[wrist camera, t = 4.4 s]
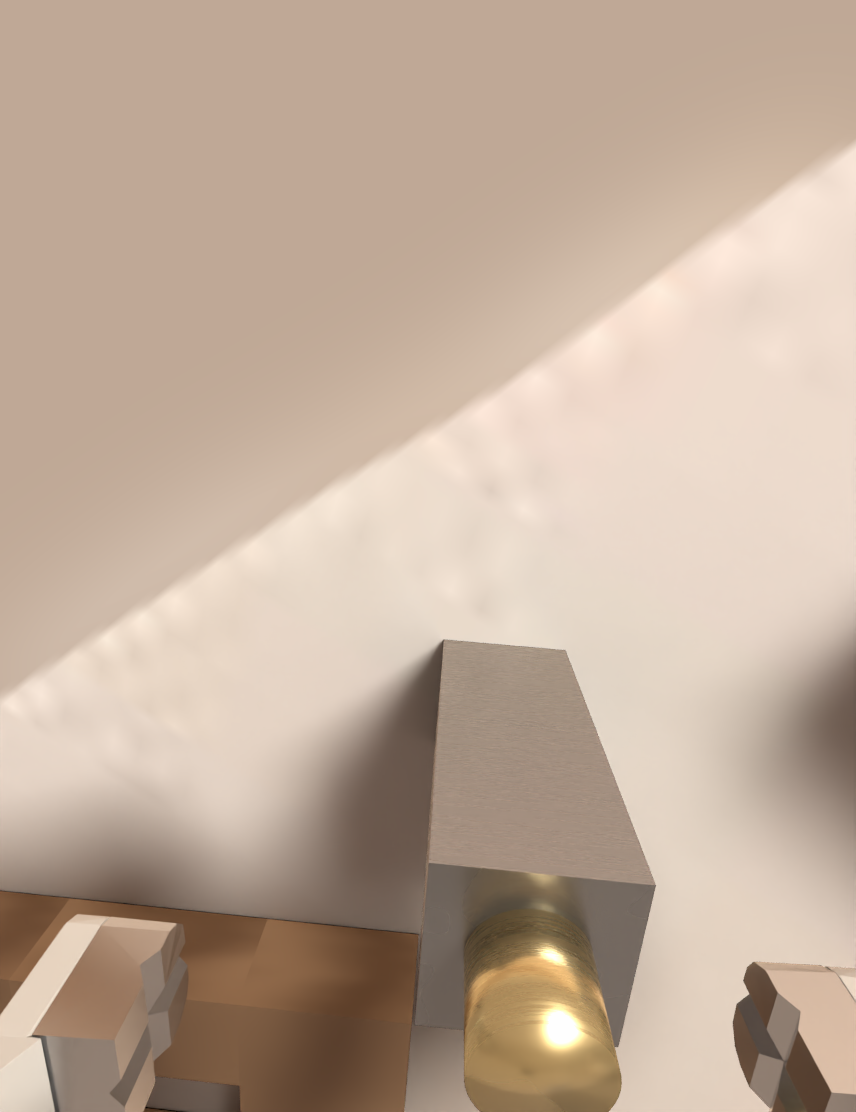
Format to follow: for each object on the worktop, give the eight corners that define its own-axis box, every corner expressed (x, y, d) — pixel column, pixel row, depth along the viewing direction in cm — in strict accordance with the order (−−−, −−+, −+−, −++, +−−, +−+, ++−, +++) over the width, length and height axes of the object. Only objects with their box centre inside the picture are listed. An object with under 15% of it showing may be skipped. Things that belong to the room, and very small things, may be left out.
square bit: (565, 650, 14) (699, 1000, 6) (549, 754, 15) (649, 1180, 7) (443, 639, 15) (422, 970, 6) (434, 744, 15) (405, 1152, 7)
